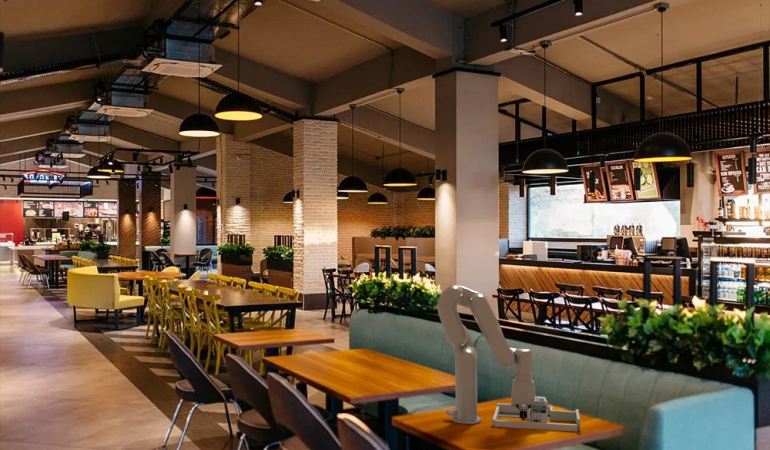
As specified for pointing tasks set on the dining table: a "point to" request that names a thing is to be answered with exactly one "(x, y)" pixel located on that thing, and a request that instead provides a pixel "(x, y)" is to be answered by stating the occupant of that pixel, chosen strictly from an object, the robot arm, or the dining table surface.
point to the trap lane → (514, 412)
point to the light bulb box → (539, 410)
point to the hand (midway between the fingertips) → (523, 419)
